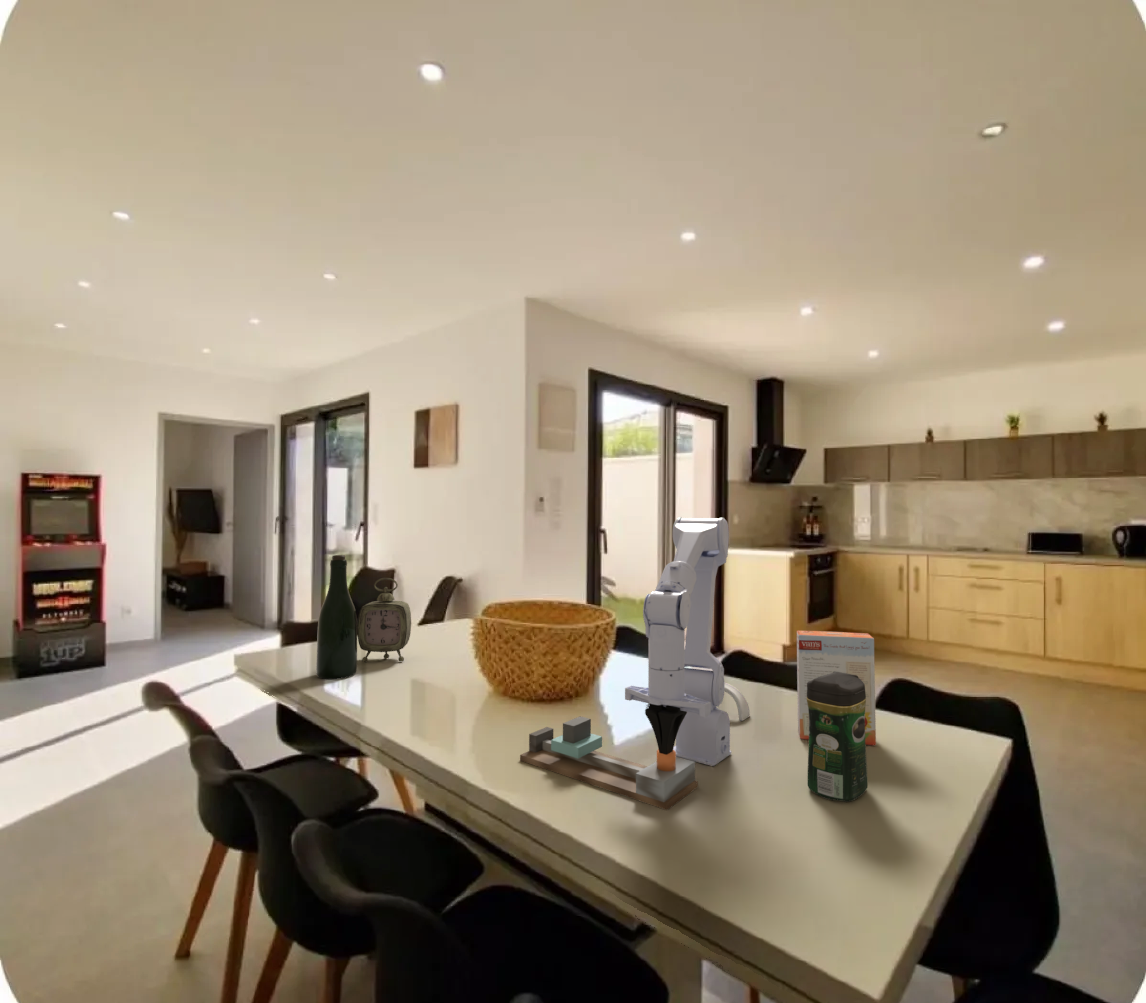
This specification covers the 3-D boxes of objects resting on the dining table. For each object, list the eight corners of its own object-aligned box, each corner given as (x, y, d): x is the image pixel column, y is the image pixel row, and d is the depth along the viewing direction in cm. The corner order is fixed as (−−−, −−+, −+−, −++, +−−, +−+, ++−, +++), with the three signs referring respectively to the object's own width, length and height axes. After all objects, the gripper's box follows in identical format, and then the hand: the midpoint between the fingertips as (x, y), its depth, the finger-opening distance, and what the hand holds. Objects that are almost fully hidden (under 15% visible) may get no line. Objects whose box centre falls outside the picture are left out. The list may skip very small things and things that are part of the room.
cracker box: (870, 736, 124) (869, 632, 125) (876, 747, 118) (875, 637, 119) (796, 729, 128) (796, 628, 129) (799, 739, 122) (798, 633, 123)
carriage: (602, 746, 110) (602, 719, 110) (578, 758, 105) (578, 730, 105) (575, 739, 114) (575, 712, 114) (551, 750, 108) (551, 722, 109)
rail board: (697, 787, 100) (697, 762, 100) (667, 810, 92) (667, 783, 92) (555, 744, 119) (555, 723, 119) (519, 760, 111) (519, 737, 111)
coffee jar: (825, 774, 105) (825, 665, 106) (874, 790, 100) (873, 674, 100) (798, 791, 99) (798, 675, 99) (848, 809, 93) (848, 685, 94)
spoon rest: (639, 707, 144) (639, 676, 144) (661, 695, 153) (661, 666, 154) (737, 727, 130) (738, 693, 130) (756, 713, 140) (756, 681, 140)
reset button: (679, 767, 98) (679, 751, 99) (669, 773, 96) (669, 756, 96) (662, 762, 100) (662, 746, 100) (653, 768, 98) (653, 752, 98)
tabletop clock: (356, 664, 183) (358, 579, 183) (364, 657, 192) (365, 576, 192) (406, 663, 184) (407, 579, 184) (411, 656, 193) (413, 576, 193)
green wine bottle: (347, 680, 164) (349, 556, 165) (309, 679, 165) (311, 556, 166) (362, 670, 175) (364, 554, 176) (326, 670, 175) (328, 553, 176)
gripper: (614, 664, 100) (614, 749, 100) (696, 679, 91) (695, 772, 91) (638, 657, 106) (637, 737, 105) (716, 670, 97) (716, 758, 96)
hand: (666, 752), depth 98 cm, fingers closed, pressing on reset button
